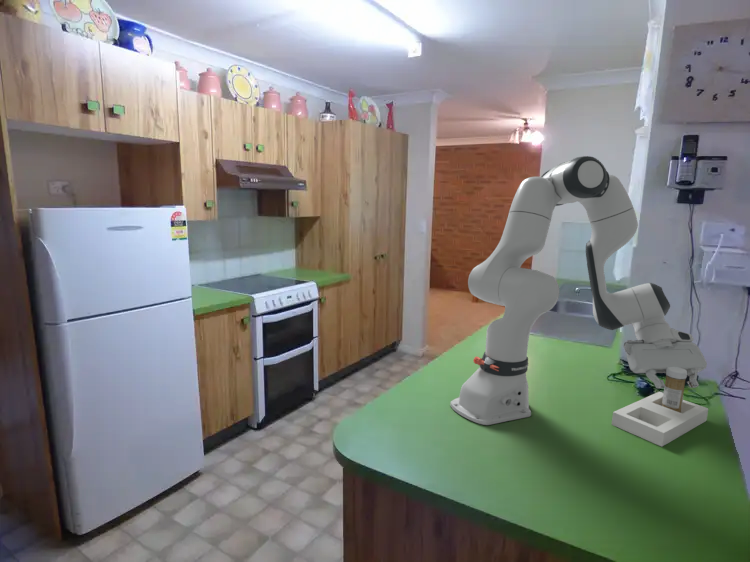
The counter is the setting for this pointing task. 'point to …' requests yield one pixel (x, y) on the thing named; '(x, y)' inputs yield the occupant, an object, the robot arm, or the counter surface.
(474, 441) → the counter surface
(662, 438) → the bottle stand
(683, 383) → the sprinkles bottle
